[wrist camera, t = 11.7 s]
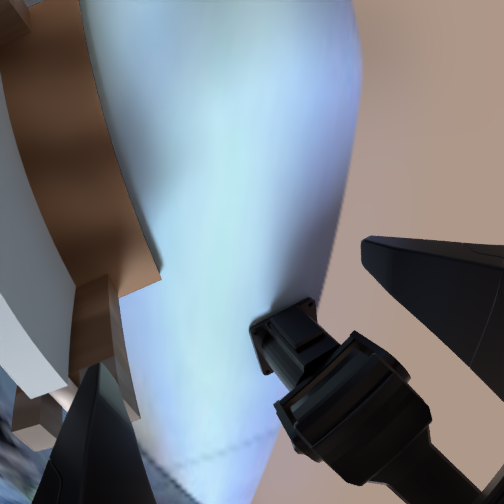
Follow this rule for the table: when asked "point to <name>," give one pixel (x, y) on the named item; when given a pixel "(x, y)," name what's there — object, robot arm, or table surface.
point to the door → (31, 284)
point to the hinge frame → (72, 195)
